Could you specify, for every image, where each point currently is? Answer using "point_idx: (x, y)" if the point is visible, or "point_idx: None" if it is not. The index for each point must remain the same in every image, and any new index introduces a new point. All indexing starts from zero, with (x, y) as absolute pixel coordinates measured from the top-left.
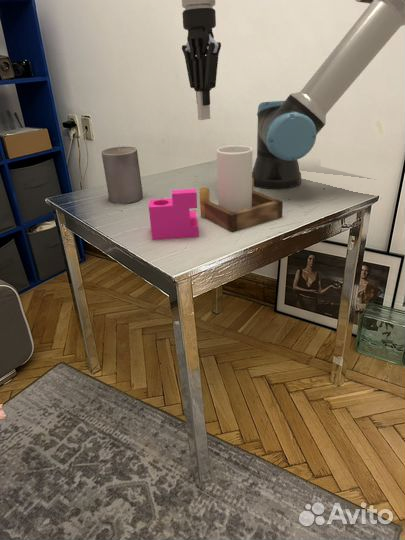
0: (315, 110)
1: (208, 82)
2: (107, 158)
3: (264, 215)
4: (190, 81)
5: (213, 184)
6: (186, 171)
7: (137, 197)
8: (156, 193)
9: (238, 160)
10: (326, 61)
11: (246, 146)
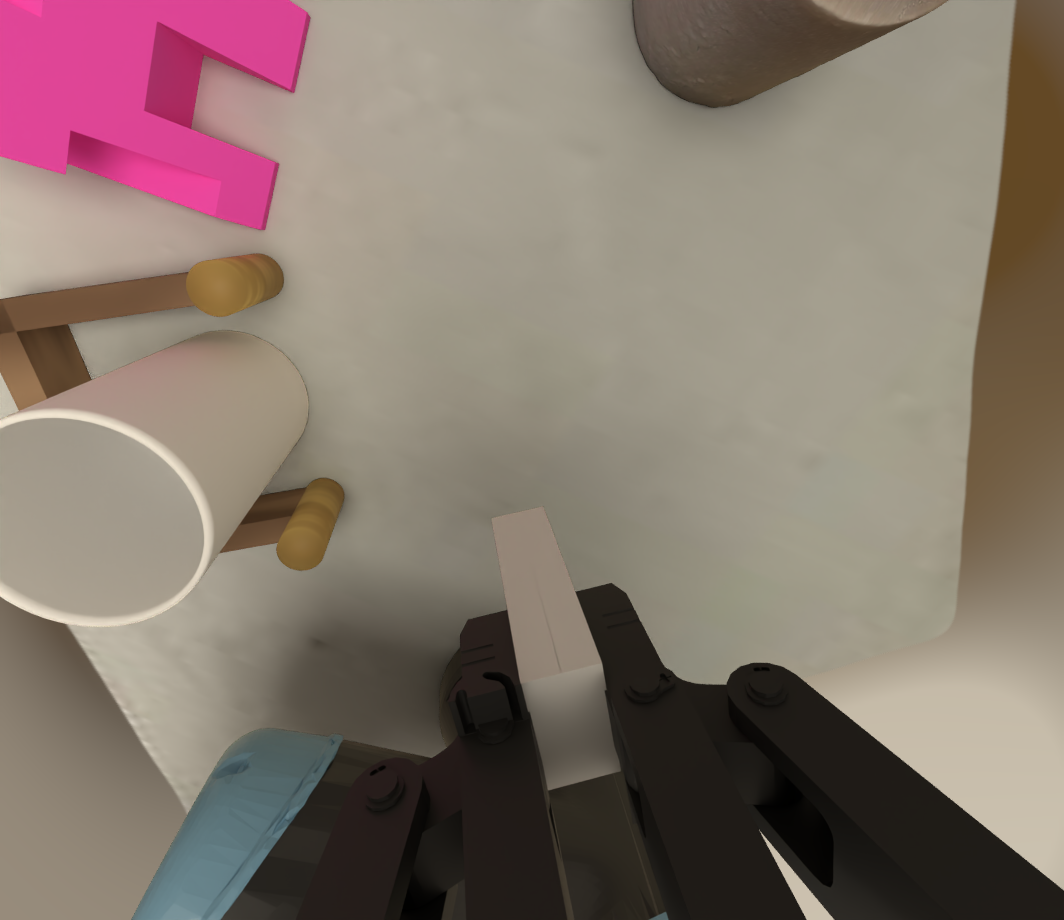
0: None
1: (330, 862)
2: None
3: None
4: (814, 727)
5: (658, 482)
6: (914, 455)
7: (644, 42)
8: (700, 193)
9: None
10: None
11: (141, 615)
